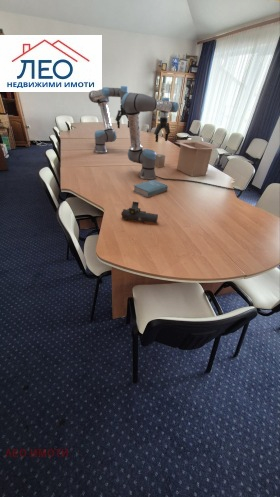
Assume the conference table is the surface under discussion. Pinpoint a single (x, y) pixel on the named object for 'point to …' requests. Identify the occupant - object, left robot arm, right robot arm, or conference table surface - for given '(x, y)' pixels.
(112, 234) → the conference table surface
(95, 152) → the left robot arm
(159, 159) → the block
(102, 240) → the conference table surface
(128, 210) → the laser sight
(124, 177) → the conference table surface
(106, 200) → the conference table surface
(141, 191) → the book
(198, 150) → the box
